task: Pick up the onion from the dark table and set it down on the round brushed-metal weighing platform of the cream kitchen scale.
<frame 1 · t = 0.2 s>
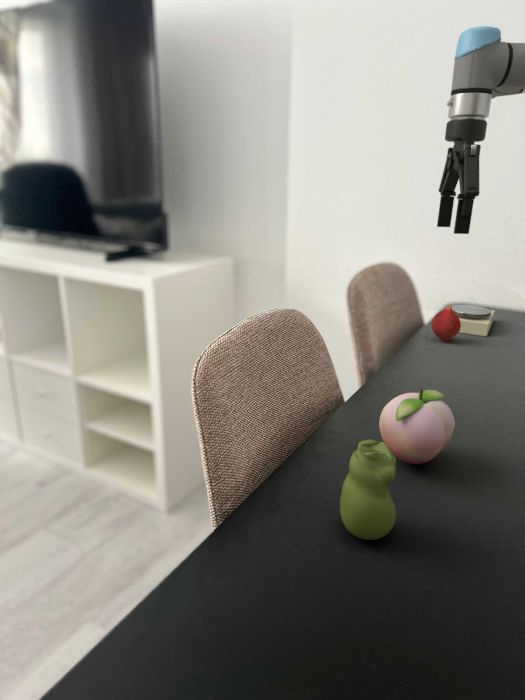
hand: (451, 230, 108), 23 cm above the table, tool pointing down, fingers open, 13 cm apart
decorative fruit: (409, 463, 64), on the table
onion: (443, 342, 111), on the table
scale platform: (469, 310, 120), point 4 cm above the table, slide at 0.0 cm
pear: (365, 534, 51), on the table
scale: (468, 326, 122), on the table
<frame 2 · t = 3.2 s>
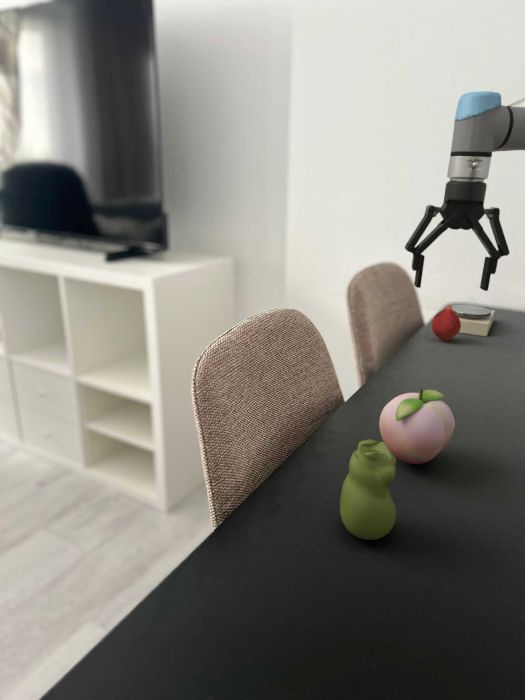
hand: (450, 288, 107), 12 cm above the table, tool pointing down, fingers open, 13 cm apart
nothing on the table moved.
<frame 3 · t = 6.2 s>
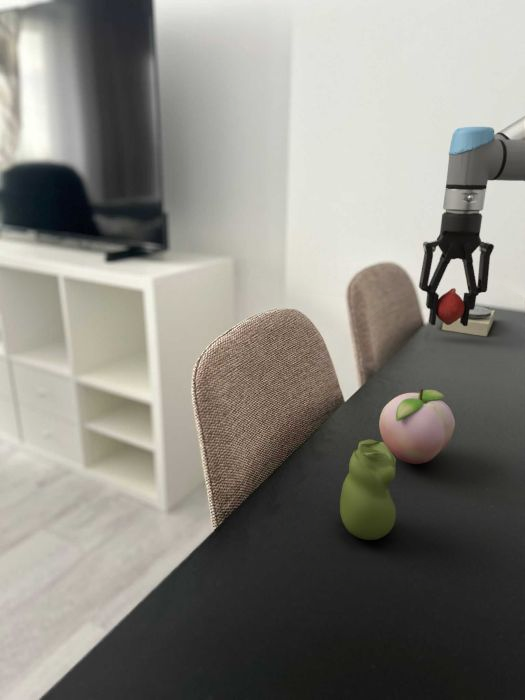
hand: (447, 323, 109), 4 cm above the table, tool pointing down, fingers closed on onion, 6 cm apart
onion: (447, 325, 109), point 3 cm above the table, touching gripper
everything else where it was.
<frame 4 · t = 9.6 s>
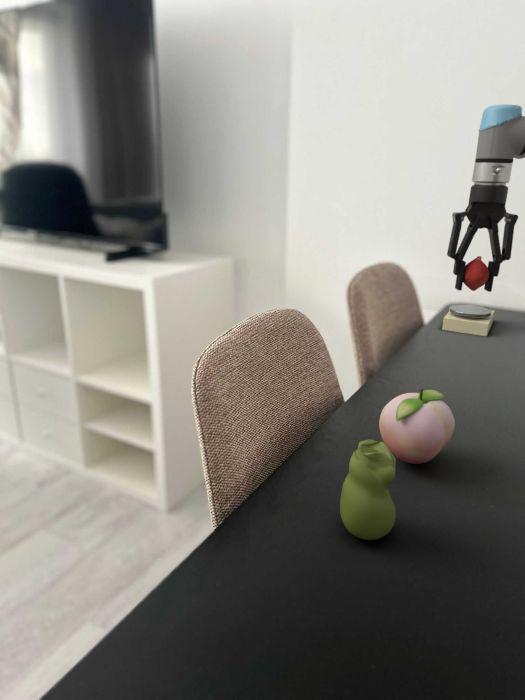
hand: (472, 289, 118), 9 cm above the table, tool pointing down, fingers closed on onion, 6 cm apart
onion: (472, 291, 118), point 9 cm above the table, touching gripper
everything else where it was.
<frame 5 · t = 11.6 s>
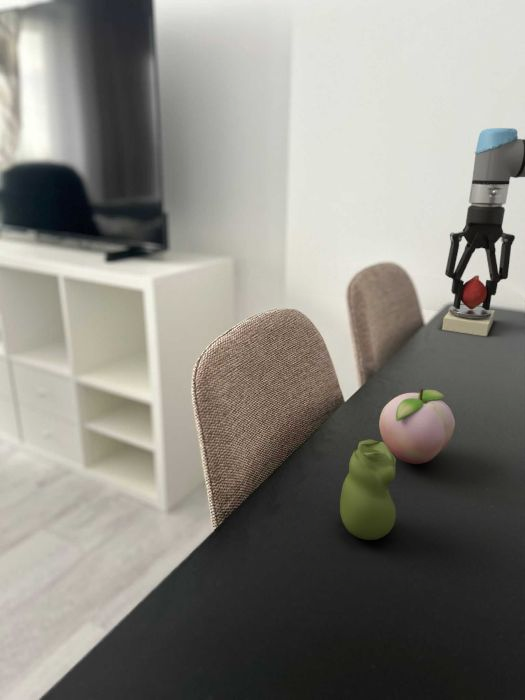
hand: (470, 308, 119), 5 cm above the table, tool pointing down, fingers closed on onion, 6 cm apart
onion: (470, 310, 120), point 4 cm above the table, touching gripper
everything else where it was.
when the fingers open (5 cm above the table, at t = 13.5 s): onion stays where it is, resting on scale platform.
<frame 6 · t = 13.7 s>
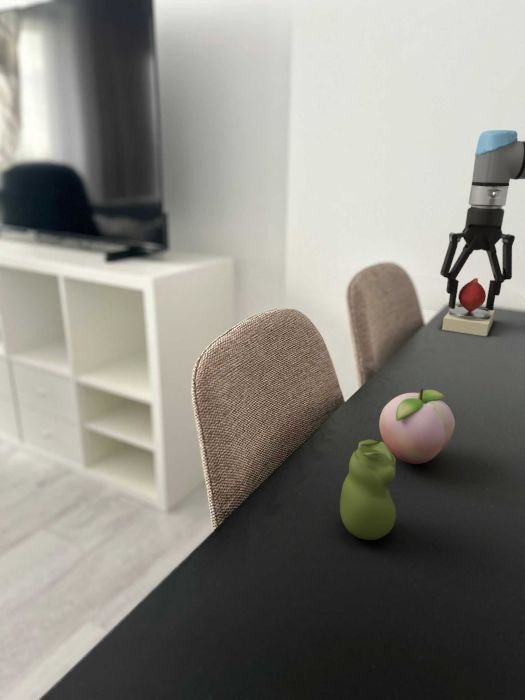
hand: (470, 308, 119), 5 cm above the table, tool pointing down, fingers open, 8 cm apart
onion: (469, 312, 120), point 4 cm above the table, touching scale platform
scale platform: (469, 313, 120), point 3 cm above the table, slide at -0.6 cm, touching onion
everything else where it was.
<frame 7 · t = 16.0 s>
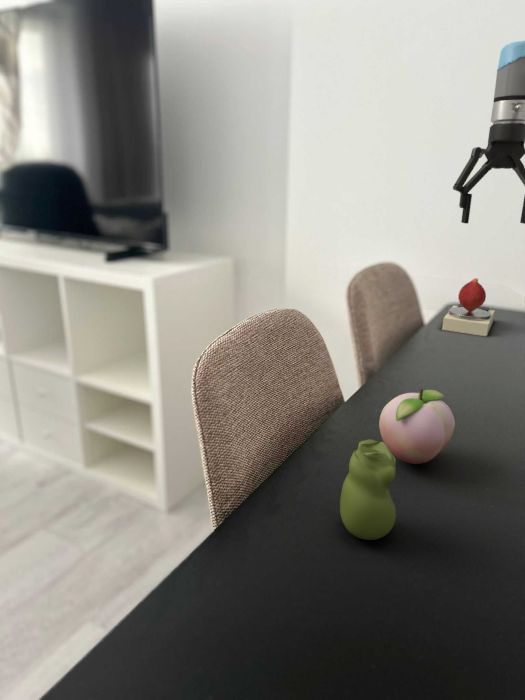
hand: (494, 223, 119), 24 cm above the table, tool pointing down, fingers open, 13 cm apart
nothing on the table moved.
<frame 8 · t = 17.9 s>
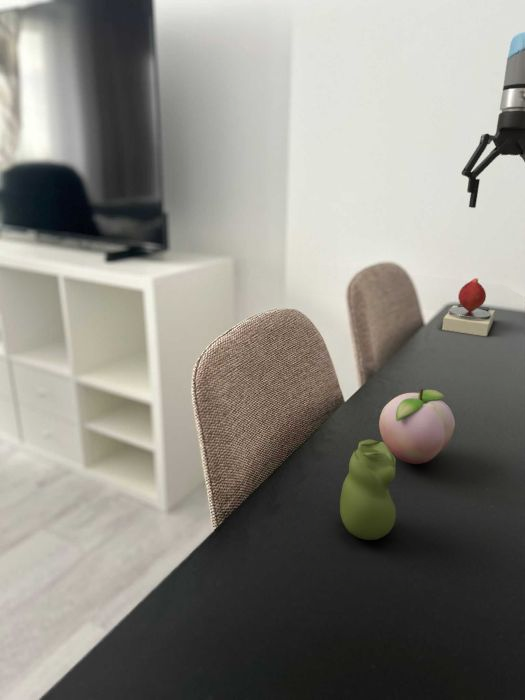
hand: (500, 208, 123), 27 cm above the table, tool pointing down, fingers open, 13 cm apart
nothing on the table moved.
at the end: onion inside the target area on the scale (0.2 cm from its centre), point 3.7 cm above the scale's base; onion tilted 0°; the gripper is holding nothing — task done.
